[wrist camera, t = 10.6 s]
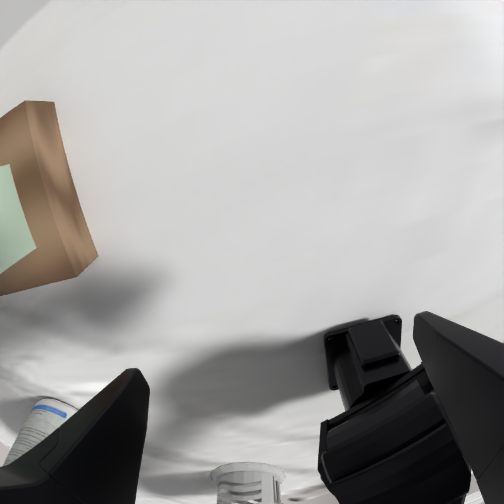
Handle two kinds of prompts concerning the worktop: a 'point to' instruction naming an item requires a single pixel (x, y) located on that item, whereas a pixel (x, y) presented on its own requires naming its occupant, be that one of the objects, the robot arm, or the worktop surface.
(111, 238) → the worktop surface
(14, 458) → the supplement tub
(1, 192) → the sage cube
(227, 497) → the french press
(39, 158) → the walnut block
